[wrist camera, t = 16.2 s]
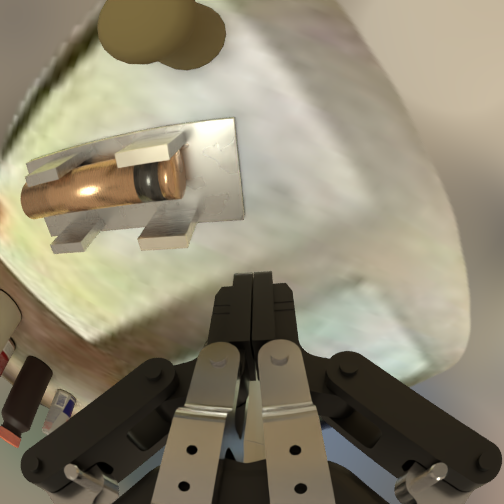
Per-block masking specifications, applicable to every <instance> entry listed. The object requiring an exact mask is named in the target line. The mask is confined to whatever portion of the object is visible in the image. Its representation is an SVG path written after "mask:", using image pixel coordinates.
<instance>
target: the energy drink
mask: <svg viewBox="0 0 504 504" xmlns="http://www.w3.org/2000/svg"><path fill="white" fill-rule="evenodd" d="M75 403H76V400H75V398H74V397H73V396H72V395H71V394H69V393H68V392H66V391H63V390H57V392H56V394H55V396H54V399H53V401H52V404H51V406H50V409H49V412H48V414H47V417H46V419H45V422H44V425H43V433H45V434H46V435H49V434H50V433H51V432H53V431H54V430H55V429H57V428H58V427H59V426H61V425H62V424H63V423H65V422H66V421H67V420H69V419H70V417H71V414H72V411H73V408H74V405H75Z"/></svg>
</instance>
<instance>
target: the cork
mask: <svg viewBox="0 0 504 504" xmlns="http://www.w3.org/2000/svg"><path fill="white" fill-rule="evenodd" d="M97 27H98V36H99V40H100V42H101V44H102V46H103V48H104V50H106V51H107V52H108V53H109V54H110V55H111V56H113V57H114V58H115V59H117V60H120V61H123V62H125V63H128V64H150V63H153V62H157V61H158V62H160V63H162V64H165V65H167V66H169V67H172V68H174V69H179V70H191V69H196V68H200V67H202V66H204V65H206V64H208V63H209V62H210V61H212V60H213V59H214V58H215V57H216V56H217V55H218V54H219V52H220V50H221V49H222V47H223V45H224V41H225V37H226V31H225V24H224V22H223V20H222V19H221V17H220V15H219V14H218V13H216V12H215V11H214V10H213V9H212V8H209V7H207V6H204V5H202V4H199V3H197V2H195V0H107V1H106V2H105V4H104V6H103V8H102V10H101V12H100V15H99V20H98V26H97Z"/></svg>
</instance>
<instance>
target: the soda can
mask: <svg viewBox="0 0 504 504" xmlns="http://www.w3.org/2000/svg"><path fill="white" fill-rule="evenodd" d="M14 350H15V346H14V344H13V341H12V340H11V338H10V339H9V340H8V342H7V344H6V345H5V347H4V349H3V350H2V352H1V354H0V377H1V375H2V373H3V371H4V369H5V367H6V365H7V363H8V361H9V359H10V358H11V356H12V354H13V352H14Z"/></svg>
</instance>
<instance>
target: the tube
mask: <svg viewBox="0 0 504 504" xmlns="http://www.w3.org/2000/svg"><path fill="white" fill-rule="evenodd" d="M185 189H186V170H185V164H184V159H183V156H182V154H181V152H180V150H178V151H177V152H176V153H175V154H174V155H173V156H172V157H171V159H170V160H165V161H158V162H152V163H145V164H139V165H133V166H127V167H122V168H118V167H117V163H116V159H111V160H106V161H102V162H97V163H93V164H88V165H84V166H80V167H76V168H74V169H73V170H71V171H70V172H68V173H67V174H65V175H64V176H63V177H61V178H60V179H58V180H54V181H50V182H46V183H42V184H38V185H35V186H31V187H28V185H27V182H26V183H25V185H24V186H23V188H22V192H21V205H22V208H23V211H24V213H25V214H26V215H27V216H28V217H29V218H31V219H38V218H43V217H49V216H55V215H61V214H67V213H74V212H80V211H87V210H94V209H101V208H108V207H116V206H123V205H131V204H140V203H148V202H157V201H167V200H176V199H182V198H183V196H184V194H185Z"/></svg>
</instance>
